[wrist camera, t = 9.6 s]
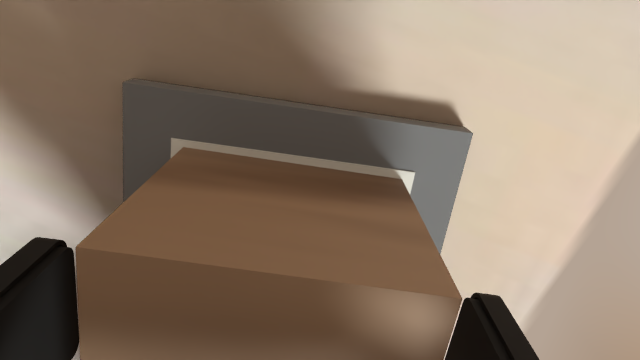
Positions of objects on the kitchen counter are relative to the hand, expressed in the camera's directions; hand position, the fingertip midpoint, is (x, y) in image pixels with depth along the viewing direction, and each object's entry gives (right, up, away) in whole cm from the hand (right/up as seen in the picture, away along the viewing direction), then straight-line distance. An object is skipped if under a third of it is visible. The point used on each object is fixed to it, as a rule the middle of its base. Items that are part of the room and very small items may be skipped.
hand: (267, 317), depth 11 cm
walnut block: (0, +1, +4) cm, 4 cm away
